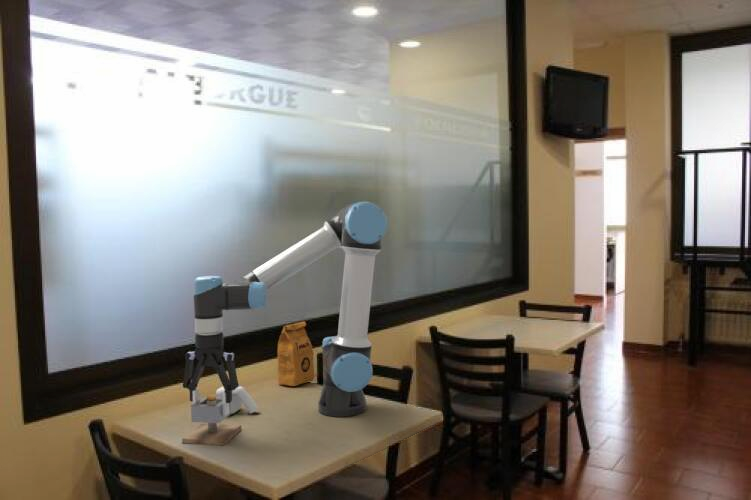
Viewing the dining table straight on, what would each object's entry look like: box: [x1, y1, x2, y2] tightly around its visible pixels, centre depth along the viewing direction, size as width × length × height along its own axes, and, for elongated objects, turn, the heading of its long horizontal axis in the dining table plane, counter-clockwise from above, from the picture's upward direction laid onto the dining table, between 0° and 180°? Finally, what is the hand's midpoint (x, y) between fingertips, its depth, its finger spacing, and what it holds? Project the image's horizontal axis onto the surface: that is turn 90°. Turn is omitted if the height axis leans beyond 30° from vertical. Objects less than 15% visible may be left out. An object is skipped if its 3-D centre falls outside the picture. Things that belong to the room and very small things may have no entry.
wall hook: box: [215, 385, 259, 415], centre depth 192 cm, size 8×10×10 cm
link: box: [190, 396, 232, 424], centre depth 172 cm, size 8×8×4 cm
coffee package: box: [276, 321, 315, 387], centre depth 224 cm, size 10×12×22 cm
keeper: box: [181, 394, 242, 446], centre depth 172 cm, size 12×12×11 cm
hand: (211, 413), depth 172 cm, fingers closed on link, 8 cm apart
